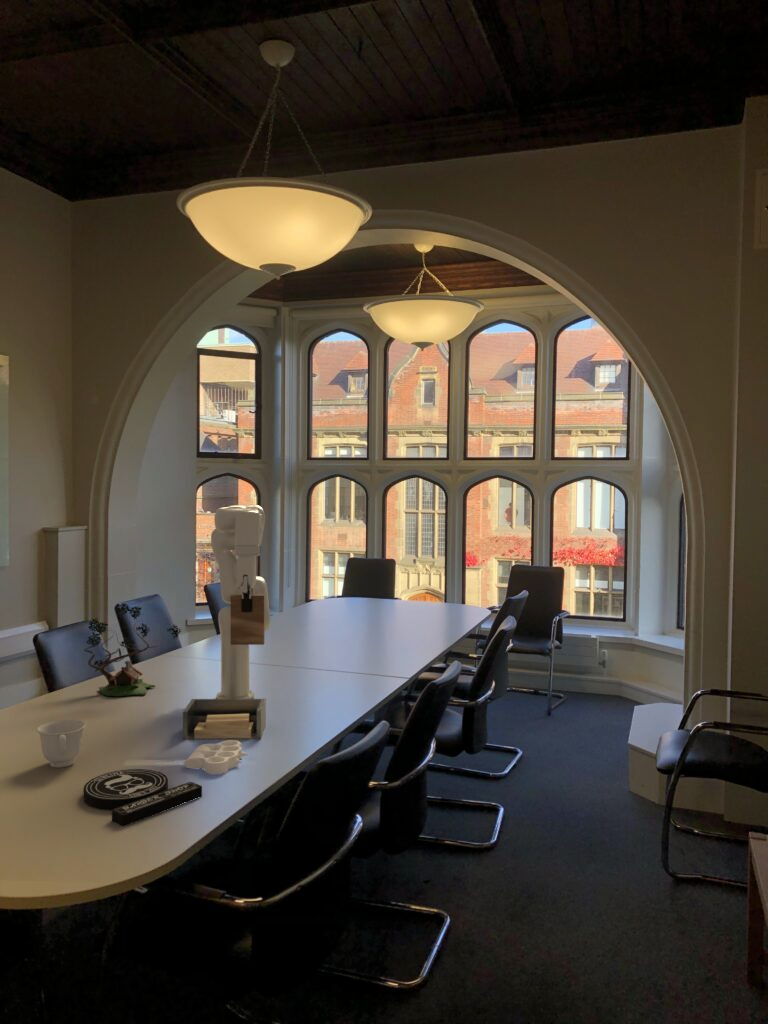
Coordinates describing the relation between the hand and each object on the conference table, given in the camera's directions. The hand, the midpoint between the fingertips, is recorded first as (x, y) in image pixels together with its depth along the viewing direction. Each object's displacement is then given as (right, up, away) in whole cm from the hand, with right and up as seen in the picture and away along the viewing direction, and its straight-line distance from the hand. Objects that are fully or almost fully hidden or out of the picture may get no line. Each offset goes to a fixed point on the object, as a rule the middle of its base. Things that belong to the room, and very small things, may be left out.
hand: (247, 610), depth 246 cm
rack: (-5, -35, -10) cm, 37 cm away
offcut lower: (-5, -34, -12) cm, 37 cm away
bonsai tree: (-46, -33, +35) cm, 66 cm away
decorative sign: (-18, -38, -54) cm, 69 cm away
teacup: (-43, -37, -34) cm, 66 cm away
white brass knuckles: (-3, -37, -31) cm, 48 cm away
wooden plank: (0, -10, +1) cm, 10 cm away
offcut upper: (-4, -32, -12) cm, 34 cm away
